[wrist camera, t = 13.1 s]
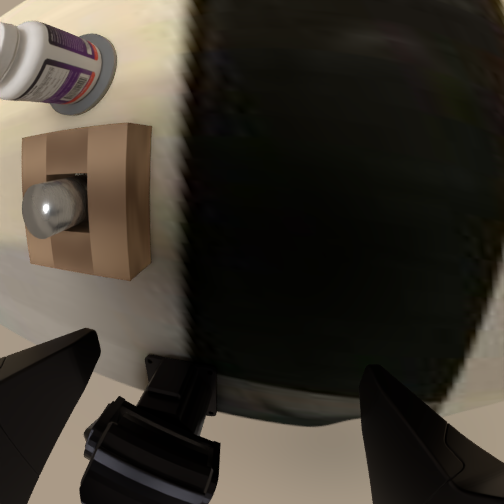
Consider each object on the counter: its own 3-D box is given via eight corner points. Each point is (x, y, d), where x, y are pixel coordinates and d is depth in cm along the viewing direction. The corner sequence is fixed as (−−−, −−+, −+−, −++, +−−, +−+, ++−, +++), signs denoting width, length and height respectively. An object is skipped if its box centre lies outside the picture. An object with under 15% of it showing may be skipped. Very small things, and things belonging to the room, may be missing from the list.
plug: (108, 218, 21) (59, 241, 15) (75, 216, 21) (24, 237, 15) (108, 173, 20) (54, 183, 14) (74, 174, 20) (20, 185, 14)
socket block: (151, 262, 22) (130, 280, 19) (55, 250, 23) (30, 263, 19) (151, 126, 19) (127, 122, 15) (50, 136, 19) (22, 138, 16)
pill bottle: (58, 50, 16) (-26, 29, 7) (108, 36, 16) (23, -4, 7) (49, 110, 18) (-43, 108, 9) (99, 101, 18) (0, 86, 9)
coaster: (111, 109, 18) (107, 109, 18) (47, 120, 19) (43, 120, 18) (122, 27, 16) (118, 25, 16) (57, 46, 17) (53, 45, 16)
